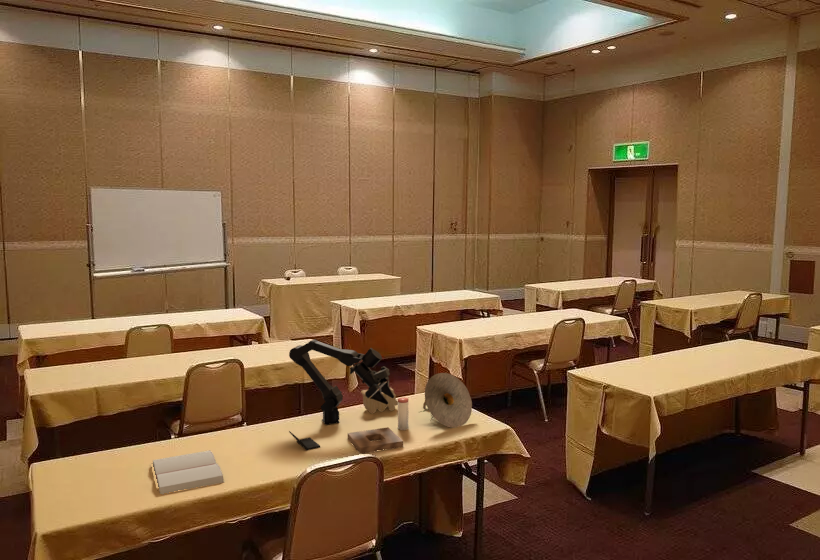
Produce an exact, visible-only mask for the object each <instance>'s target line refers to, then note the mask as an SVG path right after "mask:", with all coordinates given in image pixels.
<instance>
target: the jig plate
mask: <svg viewBox="0 0 820 560" xmlns="http://www.w3.org/2000/svg"><path fill="white" fill-rule="evenodd" d="M347 440H348V441H349V443H350V444H351V443H352V444H353V445H352V444H351V445H352V446H353V447H354V448H355V450H356V451H357V452H358V453H359V454H360V453H362V454H368V453H375V452H378V451H377V450H381V451H386V450H385V449H387V450H392V448H394V449H398V447H400V448H404V440H403V439H402V438H401V437H400V436H399V435H398V434H396V433H395V432H394V431H393V430H392V428H390V427H388V426H387V427H381V428H374V429H367V430H361V431H360V430H359V431H353V432H347ZM372 440H373V441H372ZM383 449H384V450H383ZM374 451H375V452H374Z"/></svg>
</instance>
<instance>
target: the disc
mask: <svg viewBox="0 0 820 560" xmlns="http://www.w3.org/2000/svg"><path fill="white" fill-rule="evenodd" d="M470 395H471V394H470V392H469V390H468V387H466V385H465V383H464V382H463V381H461V380H460V379H459V378H458V377H457V376H455V375H453V374H451V373H448V372H440V373H435V374H434V375H432V376H431V377H430V378H429V379H428V381H427V382H426V384H425V387H424V402H425V401H426V405H425V406H426V408H427V409H426V408H425V409H424V410H421V411H419V413H424V412H428V411H429V413H430V417H431V419H429V420H430V421H429V422H432V420H433V418H434V419H435V420H436V421H437V422H438V423H440V424H441V425H442V426H445V427H448V428H458V427H462V426H464V425H465V424H466V423H467V422H468V421H469V419H470V417H471V415H472V411H473V410H472V409H473V408H472V407H473V402H472V398H471V396H470ZM423 404H425V403H423Z"/></svg>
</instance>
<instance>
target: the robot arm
mask: <svg viewBox="0 0 820 560" xmlns="http://www.w3.org/2000/svg"><path fill="white" fill-rule="evenodd" d="M311 351H313V352H318V353H320V354H323V355H325V356H329V357H331V358H334V359H335V360H336V359H337V360H338V361H339V362H340V363H341V364H343V365H345V366H347V367H349V375H352V374H353V373H355V374H356V375H357V376H358V377H359V379H361V380H362V381H361V382H362V384H366V386H367V387H368V389H366V390H367V391H366V392H365V396H366V397H367V398H370V397H371V396H372V397H371V398H370V399H374V400H376V401H379V402H381V403H384V404H386V405H387V404H388V401H387V400H386V398H385V397H384V396H383V394H382V393H381V392H383V393H384V394H386V395H388V396H389V397H391V398H394V395H393V393H392V391H391V389H390V388H391V386H390V377H389V376H390V375H391V373H390V369H389V368H388V367H386V366H381V368H380V370H379V371H376V370H372V368H373V369H374V367H376V365H377V364H379V362H380V361H382V359H383V357H382V355H381V353H380V352H379V351H377V350H375V349H374V348H372V347H370V348H369V349H368V350H367V352H366V353H365V354H364V353H359V352H357V351H356V350H353V349H345V348H344V349H341V348H338V347H336V346H333V345H330V344H328V343H324V342H321V341H318V340H317V339H312V340H310V341H308V342H307V343H305V344H304V345H300V344H299V345H297V346H295V347H293V348H291V349H290V350H289V354H288V356H289V358H290V360H291V361H292V362H294V363H295V364H296V365H298V366H300V367H301V368H303V370H304V371H305V373H306V374H307V375H308V376H309V378H310V380H312V382H313V383H314V384H315V386H316V387H317V388H318V389H319V390H320V392H321V394H322V399H323V401H324V403H322V405H320V409H321V411H322V419H321V421H322V423H323V424H324V425H332V424H333V425H334V424H339V423H340V411H339V408H338V407H339V406H340V404H341V403H342V402H343V398H344V396H343V395H344V394H342V393H343V392H342V391H341V390H340V389H339V387H338V386H337V385H334V386H333V385H331V384H330V383H329V382H328V381H327V379H326V378H325V377H324V375H323V374H322V373H321V372H320V370H319V369H318V368H317V366H316V365H315V364H314V363H313V362H312V360H311V356H310V354H309V352H311ZM353 365H354V366H353Z"/></svg>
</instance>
